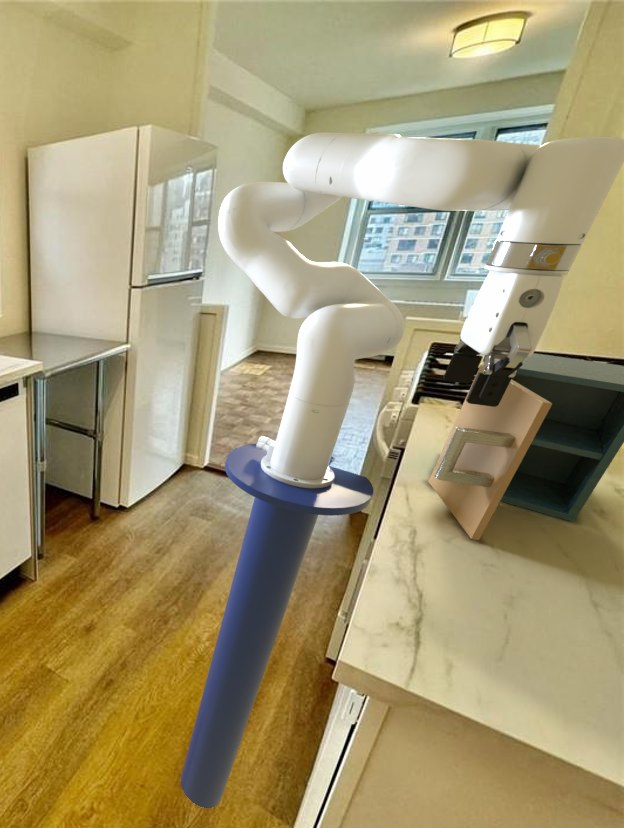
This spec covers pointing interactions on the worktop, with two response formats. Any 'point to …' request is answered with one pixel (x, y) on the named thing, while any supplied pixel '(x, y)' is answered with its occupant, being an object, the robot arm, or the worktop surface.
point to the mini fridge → (568, 433)
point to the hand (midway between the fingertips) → (467, 392)
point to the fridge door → (486, 454)
